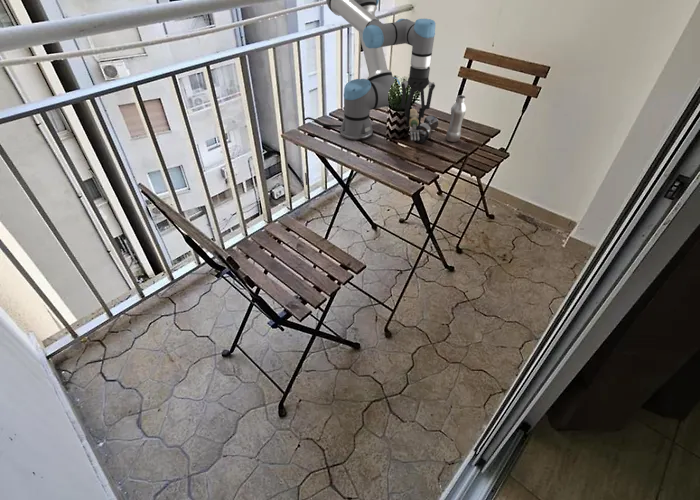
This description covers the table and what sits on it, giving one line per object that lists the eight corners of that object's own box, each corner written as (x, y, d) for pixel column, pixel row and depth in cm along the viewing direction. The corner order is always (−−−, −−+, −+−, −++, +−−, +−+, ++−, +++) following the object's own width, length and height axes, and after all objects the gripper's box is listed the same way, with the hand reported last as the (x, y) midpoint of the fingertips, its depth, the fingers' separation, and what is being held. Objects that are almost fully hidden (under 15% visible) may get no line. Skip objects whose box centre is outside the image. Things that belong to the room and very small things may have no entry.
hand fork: (407, 117, 170) (408, 108, 168) (416, 117, 170) (417, 108, 167) (410, 140, 154) (411, 130, 152) (420, 140, 154) (421, 131, 151)
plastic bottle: (442, 139, 179) (449, 96, 166) (452, 135, 182) (460, 92, 169) (452, 145, 175) (461, 101, 162) (462, 140, 178) (472, 97, 165)
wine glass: (420, 118, 186) (408, 129, 175) (434, 111, 180) (424, 122, 170) (427, 133, 188) (416, 145, 178) (441, 127, 183) (431, 139, 173)
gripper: (441, 63, 151) (432, 121, 167) (397, 62, 152) (392, 120, 168) (443, 69, 146) (434, 128, 161) (398, 68, 146) (393, 127, 162)
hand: (413, 124), depth 164 cm, fingers closed on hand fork, 4 cm apart
